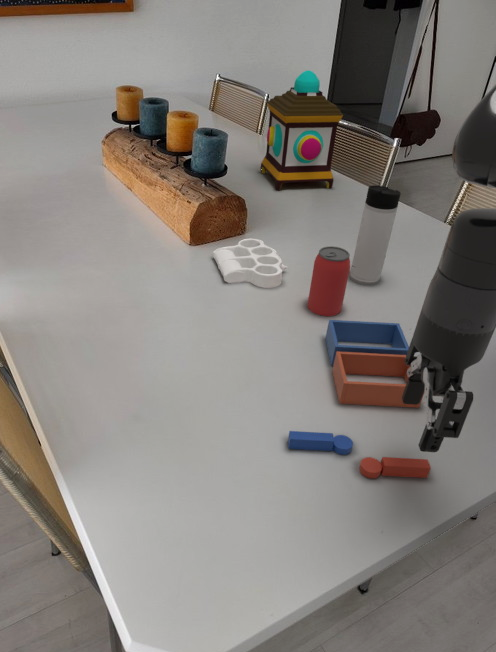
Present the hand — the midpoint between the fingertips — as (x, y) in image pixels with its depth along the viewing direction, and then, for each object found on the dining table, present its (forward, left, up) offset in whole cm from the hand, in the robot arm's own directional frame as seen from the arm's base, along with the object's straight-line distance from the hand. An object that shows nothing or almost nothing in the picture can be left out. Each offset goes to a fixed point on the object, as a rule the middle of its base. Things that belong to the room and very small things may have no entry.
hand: (418, 424), depth 67 cm
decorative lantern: (+5, -117, -9) cm, 117 cm away
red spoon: (+1, 0, -9) cm, 9 cm away
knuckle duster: (+19, -57, -9) cm, 61 cm away
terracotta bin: (0, -17, -9) cm, 20 cm away
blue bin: (0, -27, -9) cm, 28 cm away
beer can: (+5, -42, -9) cm, 43 cm away
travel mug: (-5, -55, -9) cm, 56 cm away
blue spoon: (+10, -4, -9) cm, 14 cm away
